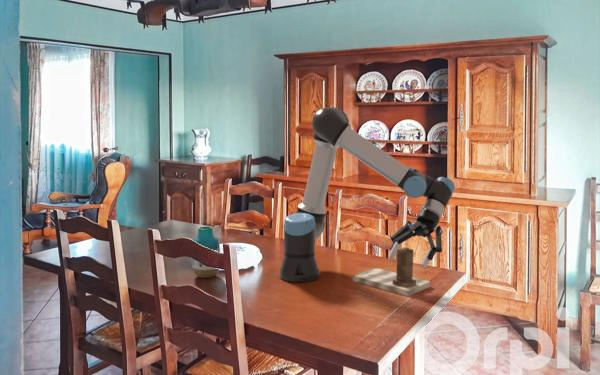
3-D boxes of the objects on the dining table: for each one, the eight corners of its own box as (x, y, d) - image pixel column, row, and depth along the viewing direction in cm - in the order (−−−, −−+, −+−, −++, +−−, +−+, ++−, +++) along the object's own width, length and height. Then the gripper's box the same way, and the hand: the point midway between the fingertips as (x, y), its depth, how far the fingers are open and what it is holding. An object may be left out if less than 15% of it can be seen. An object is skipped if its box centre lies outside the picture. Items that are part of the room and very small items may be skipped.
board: (353, 280, 201) (353, 275, 201) (375, 272, 211) (375, 267, 211) (408, 296, 185) (408, 290, 185) (429, 286, 195) (430, 281, 195)
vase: (190, 274, 209) (189, 225, 207) (218, 271, 213) (217, 223, 210) (193, 282, 199) (192, 231, 197) (222, 279, 203) (221, 229, 200)
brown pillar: (392, 284, 192) (393, 247, 190) (401, 280, 196) (402, 245, 194) (407, 287, 188) (408, 251, 186) (415, 284, 192) (417, 248, 190)
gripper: (465, 225, 192) (441, 275, 184) (405, 215, 209) (381, 261, 201) (458, 213, 188) (434, 264, 179) (397, 203, 205) (373, 249, 197)
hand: (406, 262), depth 190 cm, fingers open, 13 cm apart
